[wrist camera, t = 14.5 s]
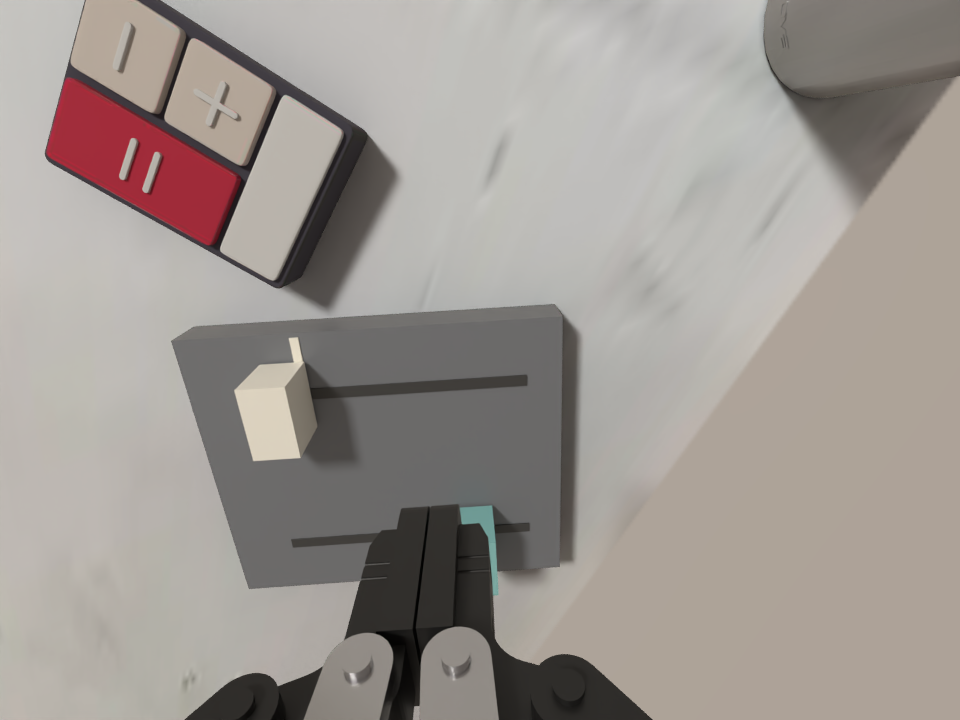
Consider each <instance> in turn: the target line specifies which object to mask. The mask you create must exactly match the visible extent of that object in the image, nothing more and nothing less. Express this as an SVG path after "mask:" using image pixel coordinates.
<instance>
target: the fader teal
mask: <svg viewBox="0 0 960 720" xmlns="http://www.w3.org/2000/svg"><path fill="white" fill-rule="evenodd" d="M460 513H461V522H462V524H474V523H480V525H481V526H482V528H483V530H484V531H485V533H486V535H487V536H488V541H489V551H490V562H491V572H492V585H493V595H498V577H497V558H496V540H495V530H494V519H493V509H492V505H491V506H476V507H462V508H460Z"/></svg>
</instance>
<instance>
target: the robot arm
mask: <svg viewBox="0 0 960 720" xmlns="http://www.w3.org/2000/svg"><path fill="white" fill-rule="evenodd" d="M764 41H765V49H766V54H767V56H768V59H769V62H770V65H771V67H772V69H773V71H774V72H775V74H776V75H777V77H778V78H779V80H780V81H781V82H782V83H784V84H785V85H786V86H787V87H788V88H789V89H790V90H792V91H794V92H796V93H798V94H800V95H802V96H806V97H812V98H817V99H818V98H833V97H839V96H844V95H850V94H856V93H862V92H868V91H874V90H881V89H887V88H893V87H898V86H904V85H910V84H916V83H921V82H927V81H933V80H939V79H944V78H950V77H956V76H960V0H768V3H767V7H766V12H765V18H764ZM414 706H420V715H419V720H652V719H651V718H650V717H649V716H648V715H647V714H646V713H644V711H643V710H641V709H640V708H639V707H638V706H637V705H636V704H635V703H634V702H632V700H630V699H629V698H628V697H627V696H626V695H625V694H624V693H623V692H622V691H620V690H619V689H618V688H617V687H616V686H615V685H614V684H613V683H612V682H611V681H609V680H608V679H607V678H606V677H605V676H604V675H603V674H602V673H601V672H600V671H598V670H597V669H596V668H595V667H594V666H593V665H591V664H590V663H589V662H588V661H586V660H584V659H583V658H580V657H577V656H574V655H568V654H561V655H555V656H552V657H550V658H548V659H546V660H544V661H543V662H542V663H541V664H540V665H535V664H532V663H528V662H524V661H521V660H518V659H516V658H514V657H512V656H510V655H509V654H507V653H506V652H505V651H504V650H503V649H502V648H501V647H500V646H499V645H498V643H497V642H496V640H495V630H494V607H493V585H492V572H491V562H490V551H489V541H488V536H487V535H486V533H485V531H484V530H483V528H482V526H481V525H480V523H474V524H462V522H461V513H460V506H459V504H451V505H437V506H431V508H430V506H425V507H411V508H402V509H401V511H400V515H399V520H398V525H397V529H392V530H381V532H380V533H379V534H378V536H377V537H376V538H375V539H374V541H373V542H372V543H371V545H370V546H369V550H368V553H367V557H366V561H365V567H364V569H363V572H362V576H361V581H360V584H359V587H358V591H357V595H356V599H355V602H354V606H353V610H352V614H351V618H350V621H349V625H348V629H347V633H346V636H345V639H344V641H342V642H341V643H340V644H338V645H337V646H336V647H335V648H334V649H333V650H332V652H331V653H330V654H329V656H328V657H327V659H326V661H325V663H324V666H323V667H321V668H320V669H318V670H317V671H315V672H313V673H311V674H309V675H306V676H304V677H301V678H299V679H296V680H293V681H291V682H288V683H286V684H283V685H280V686H277V684H276V682H275V681H274V679H273V678H271V677H270V676H268V675H266V674H261V673H252V674H247V675H244V676H241V677H239V678H236V679H234V680H233V681H231V682H229V683H228V684H226V685H225V686H224V687H222V688H221V689H220V690H219V691H218V692H216V693H215V694H214V695H213V696H212V697H211V698H209V699H208V700H207V701H206V702H205V703H204V704H202V705H201V706H200V707H199V708H198V709H197V710H195V711H194V712H193V713H192V714H191V715H189V716H188V717H187V718H186V719H185V720H413V712H414Z"/></svg>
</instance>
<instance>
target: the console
mask: <svg viewBox="0 0 960 720" xmlns="http://www.w3.org/2000/svg"><path fill="white" fill-rule="evenodd" d="M171 342H172V345H173V348H174V351H175V355H176V358H177V361H178V364H179V367H180V371H181V374H182V377H183V380H184V383H185V387H186V390H187V393H188V396H189V399H190V402H191V406H192V409H193V412H194V415H195V418H196V422H197V425H198V428H199V431H200V434H201V438H202V441H203V444H204V447H205V450H206V454H207V457H208V460H209V463H210V466H211V470H212V473H213V476H214V479H215V482H216V485H217V489H218V492H219V495H220V498H221V501H222V505H223V508H224V511H225V514H226V517H227V521H228V524H229V527H230V530H231V533H232V537H233V540H234V543H235V546H236V549H237V553H238V556H239V559H240V562H241V565H242V568H243V572H244V575H245V578H246V581H247V584H248V588H249V589H255V588H269V587H283V586H297V585H311V584H325V583H339V582H353V581H361V576H362V572H363V569H364V567H365V561H366V557H367V553H368V550H369V546H370V545H371V543H372V542H373V541H374V539H375V538H376V537H377V536H378V534H379V533H380V532H381V530H392V529H397V525H398V520H399V515H400V511H401V509H402V508H411V507H425V506H430V508H431V506H437V505H451V504H459V506H460V508H462V507H476V506H491V505H492V509H493V519H494V530H495V540H496V558H497V571H508V570H522V569H536V568H550V567H560V502H561V422H562V342H563V316H562V314H561V313H560V311H559V310H558V308H557V307H556V305H555V304H550V305H534V306H518V307H502V308H486V309H470V310H454V311H438V312H422V313H405V314H389V315H373V316H357V317H341V318H325V319H309V320H293V321H277V322H261V323H244V324H228V325H212V326H196V327H193V328H191V329H190V330H188V331H186V332H185V333H183V334H181V335H180V336H178V337H177V338H175V339H173V340H172V341H171ZM294 362H304V363H305V368H306V373H307V378H308V382H309V387H310V392H311V397H312V402H313V407H314V412H315V416H316V421H317V428H316V430H315V432H314V434H313V436H312V438H311V440H310V441H309V443H308V445H307V447H306V449H305V451H304V453H303V454H302V456H301V458H293V459H278V460H263V461H253V458H252V454H251V451H250V447H249V443H248V440H247V436H246V432H245V429H244V425H243V421H242V418H241V414H240V410H239V407H238V403H237V399H236V396H235V392H234V390H235V389H236V388H237V387H238V386H239V385H240V384H241V383H242V382H243V381H244V380H245V379H246V378H247V377H248V376H249V375H250V374H251V373H252V372H253V371H254V370H255V369H256V368H257V367H258V366H259V365H262V364H278V363H294Z"/></svg>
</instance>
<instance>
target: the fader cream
mask: <svg viewBox="0 0 960 720" xmlns="http://www.w3.org/2000/svg"><path fill="white" fill-rule="evenodd" d="M234 392H235V396H236V399H237V403H238V407H239V410H240V414H241V418H242V421H243V425H244V429H245V432H246V436H247V440H248V443H249V447H250V451H251V454H252V458H253V461H263V460H278V459H293V458H301V456H302V454H303V453H304V451H305V449H306V447H307V445H308V443H309V441H310V440H311V438H312V436H313V434H314V432H315V430H316V428H317V421H316V416H315V412H314V407H313V402H312V397H311V392H310V387H309V382H308V378H307V373H306V368H305V363H304V362H294V363H278V364H262V365H259V366H258V367H257V368H256V369H255V370H254V371H253V372H252V373H251V374H250V375H249V376H248V377H247V378H246V379H245V380H244V381H243V382H242V383H241V384H240V385H239V386H238V387H237V388H236V389H235V390H234Z"/></svg>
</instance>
